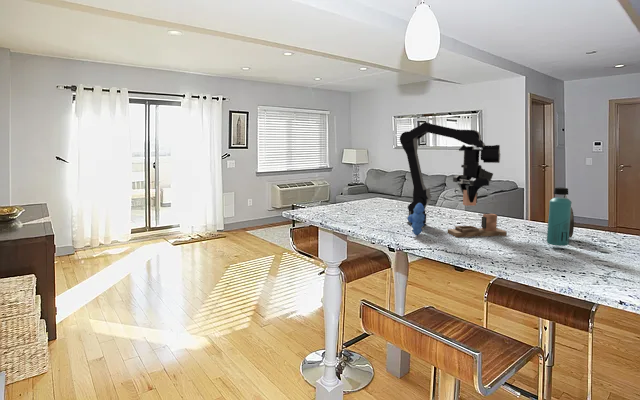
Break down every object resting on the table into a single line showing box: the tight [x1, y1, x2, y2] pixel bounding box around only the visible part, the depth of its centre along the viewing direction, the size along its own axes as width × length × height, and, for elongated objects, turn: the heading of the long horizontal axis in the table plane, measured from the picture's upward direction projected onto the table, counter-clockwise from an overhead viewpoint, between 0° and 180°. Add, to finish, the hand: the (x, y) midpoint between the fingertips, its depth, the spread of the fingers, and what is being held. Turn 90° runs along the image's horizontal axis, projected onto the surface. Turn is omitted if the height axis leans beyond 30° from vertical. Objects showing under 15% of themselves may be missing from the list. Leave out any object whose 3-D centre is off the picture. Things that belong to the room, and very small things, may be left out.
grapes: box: [406, 203, 426, 236], centre depth 157 cm, size 12×7×12 cm, turn 155°
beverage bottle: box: [546, 187, 572, 247], centre depth 135 cm, size 6×7×20 cm
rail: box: [447, 213, 508, 238], centre depth 157 cm, size 20×7×8 cm, turn 97°
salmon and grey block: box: [462, 190, 479, 207], centre depth 165 cm, size 5×3×6 cm, turn 97°
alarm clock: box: [563, 195, 575, 238], centre depth 148 cm, size 11×5×16 cm, turn 158°
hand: (469, 201), depth 165 cm, fingers closed on salmon and grey block, 3 cm apart
